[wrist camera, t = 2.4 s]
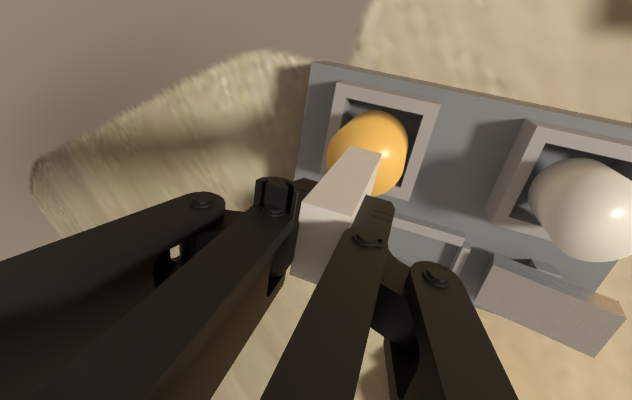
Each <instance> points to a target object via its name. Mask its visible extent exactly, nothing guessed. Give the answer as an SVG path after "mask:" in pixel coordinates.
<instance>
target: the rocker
mask: <svg viewBox="0 0 632 400" xmlns="http://www.w3.org/2000/svg"><path fill="white" fill-rule="evenodd" d="M473 303H474V304H476V305H479V306H481V307H483V308H485V309H487V310H490V311H492V312H494V313H496V314H498V315H501V316H503V317H505V318H507V319H509V320H512V321H514V322H516V323H518V324H520V325H523V326H525V327H527V328H529V329H531V330H534V331H536V332H538V333H540V334H542V335H545V336H547V337H549V338H551V339H553V340H556V341H558V342H560V343H562V344H564V345H567V346H569V347H571V348H573V349H575V350H578V351H580V352H582V353H584V354H586V355H589V356H591V357H593V358H594V357H595V356H596V355H597V354H598V352H599V351H600V350H601V349H602V348H603V346H604V345H605V344H606V343H607V342H608V340H609V339H610V338H611V337H612V336H613V334H614V333H615V332H616V331H617V330H618V328H619V327H620V326H621V325H622V324H623V322H624V321H625V320H626V319H627V318H626V316H625V314H624V312H623V310H622V308H621V306H620V304H619V301H616V300H613V299H611V298H608V297H606V296H603V295H601V294H598V293H596V292H593V291H590V290H588V289H585V288H583V287H580V286H578V285H575V284H572V283H570V282H567V281H565V280H562V279H560V278H557V277H554V276H552V275H549V274H547V273H544V272H542V271H539V270H536V269H534V268H531V267H529V266H526V265H524V264H521V263H518V262H516V261H513V260H511V259H508V258H506V257H503V256H500V255H498V254H495V253H494V255H493V257H492V259H491V260H490V262H489V264H488V266H487V268H486V270H485V272H484V274H483V276H482V278H481V280H480V282H479V284H478V286H477V288H476V290H475V296H474V302H473Z"/></svg>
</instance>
